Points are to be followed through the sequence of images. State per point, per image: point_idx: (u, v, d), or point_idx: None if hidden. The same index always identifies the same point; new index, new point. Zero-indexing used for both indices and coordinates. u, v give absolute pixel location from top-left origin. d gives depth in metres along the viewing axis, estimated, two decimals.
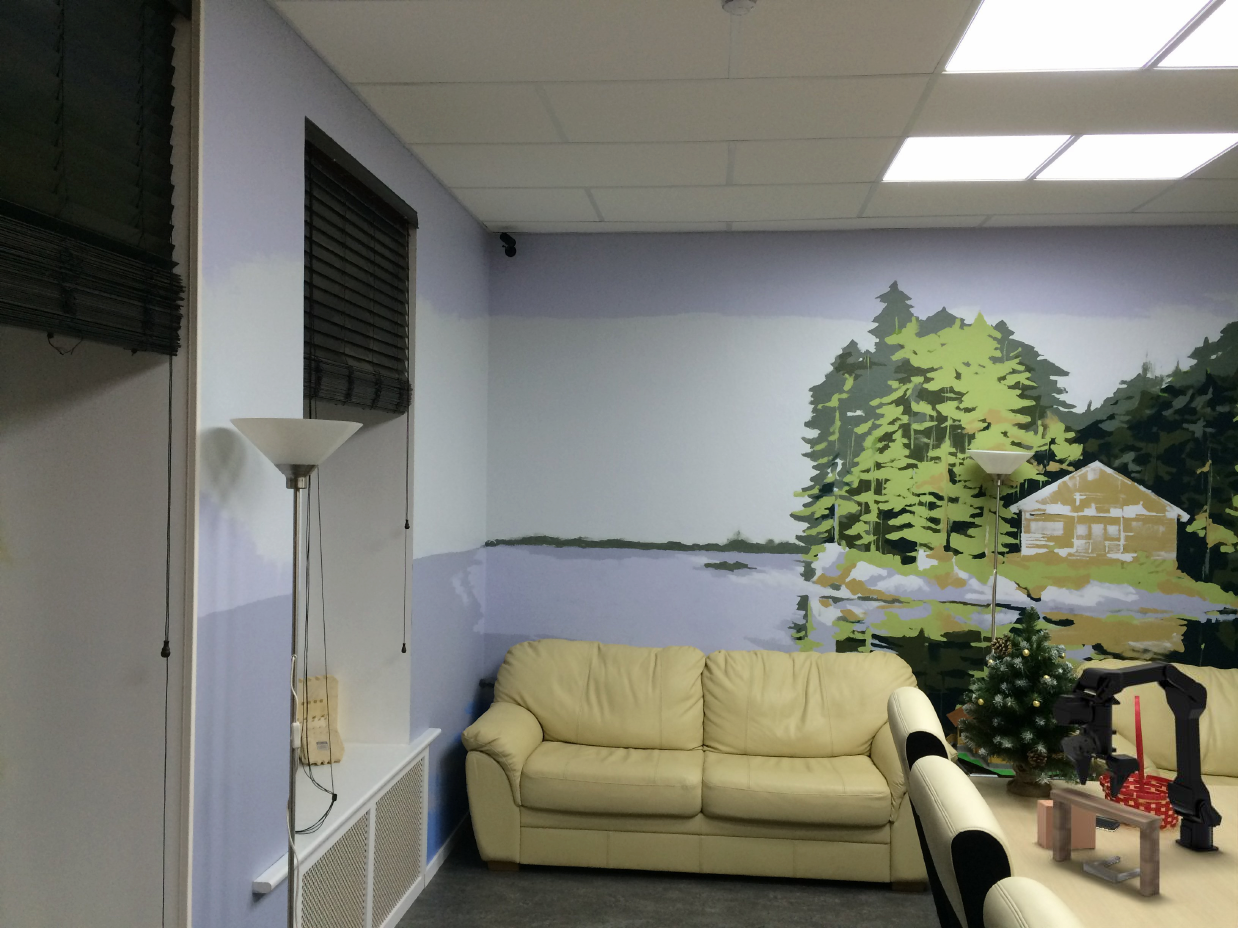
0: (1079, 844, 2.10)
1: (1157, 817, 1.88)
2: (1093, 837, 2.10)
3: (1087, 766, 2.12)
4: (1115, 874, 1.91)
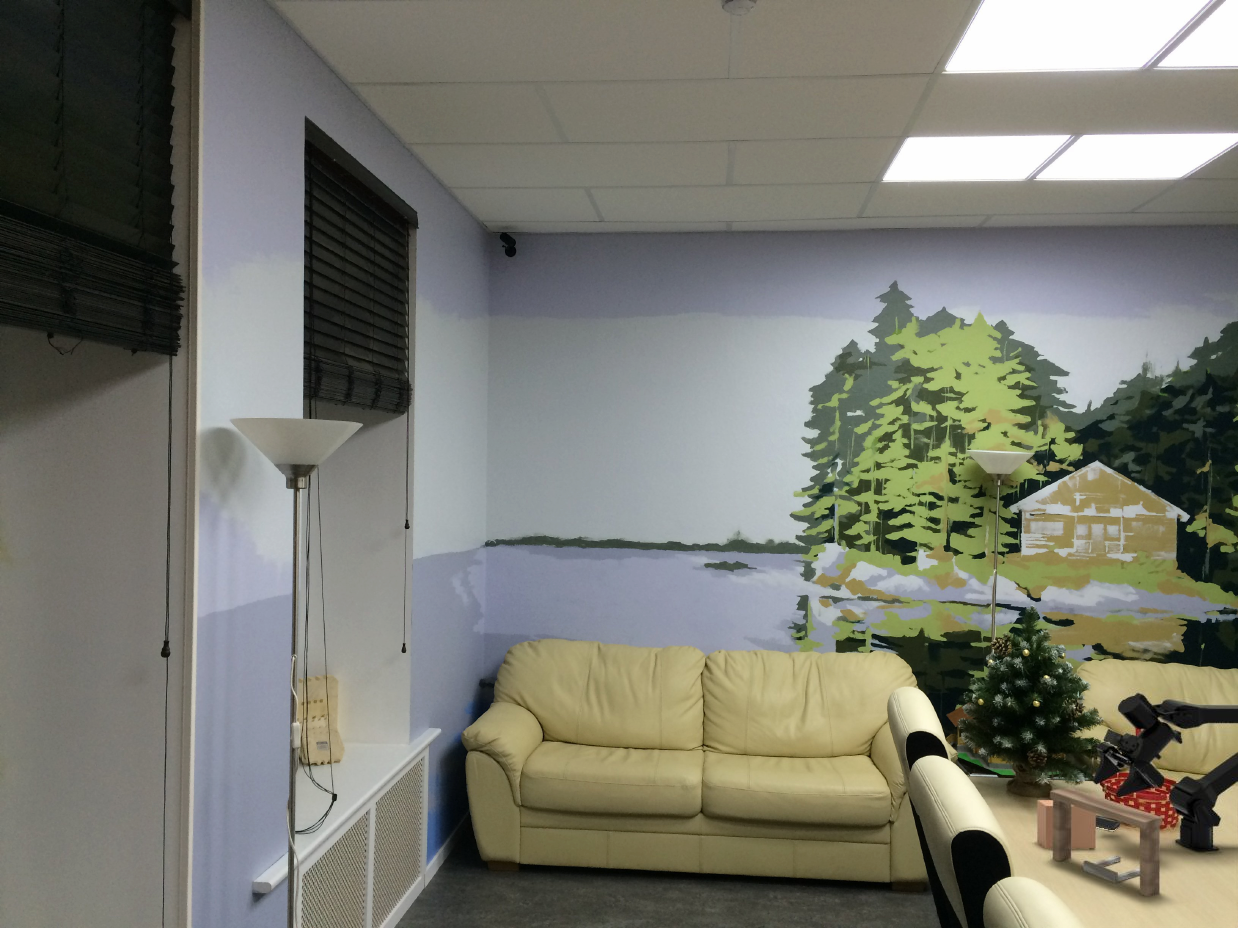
0: (1079, 844, 2.10)
1: (1157, 817, 1.88)
2: (1093, 837, 2.10)
3: (1109, 774, 2.18)
4: (1115, 874, 1.91)
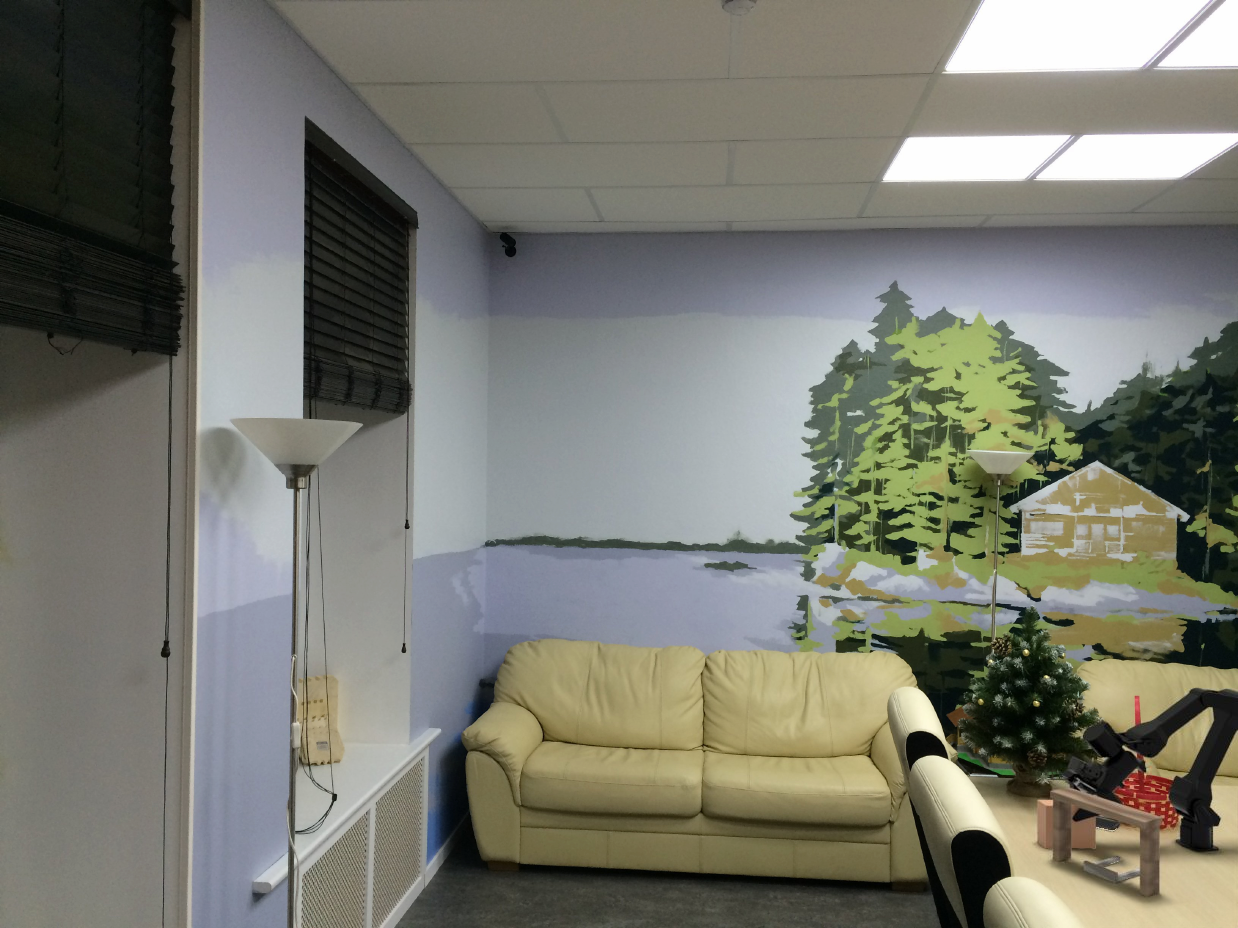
0: (1079, 843, 2.10)
1: (1157, 817, 1.88)
2: (1093, 837, 2.10)
3: None
4: (1115, 874, 1.91)
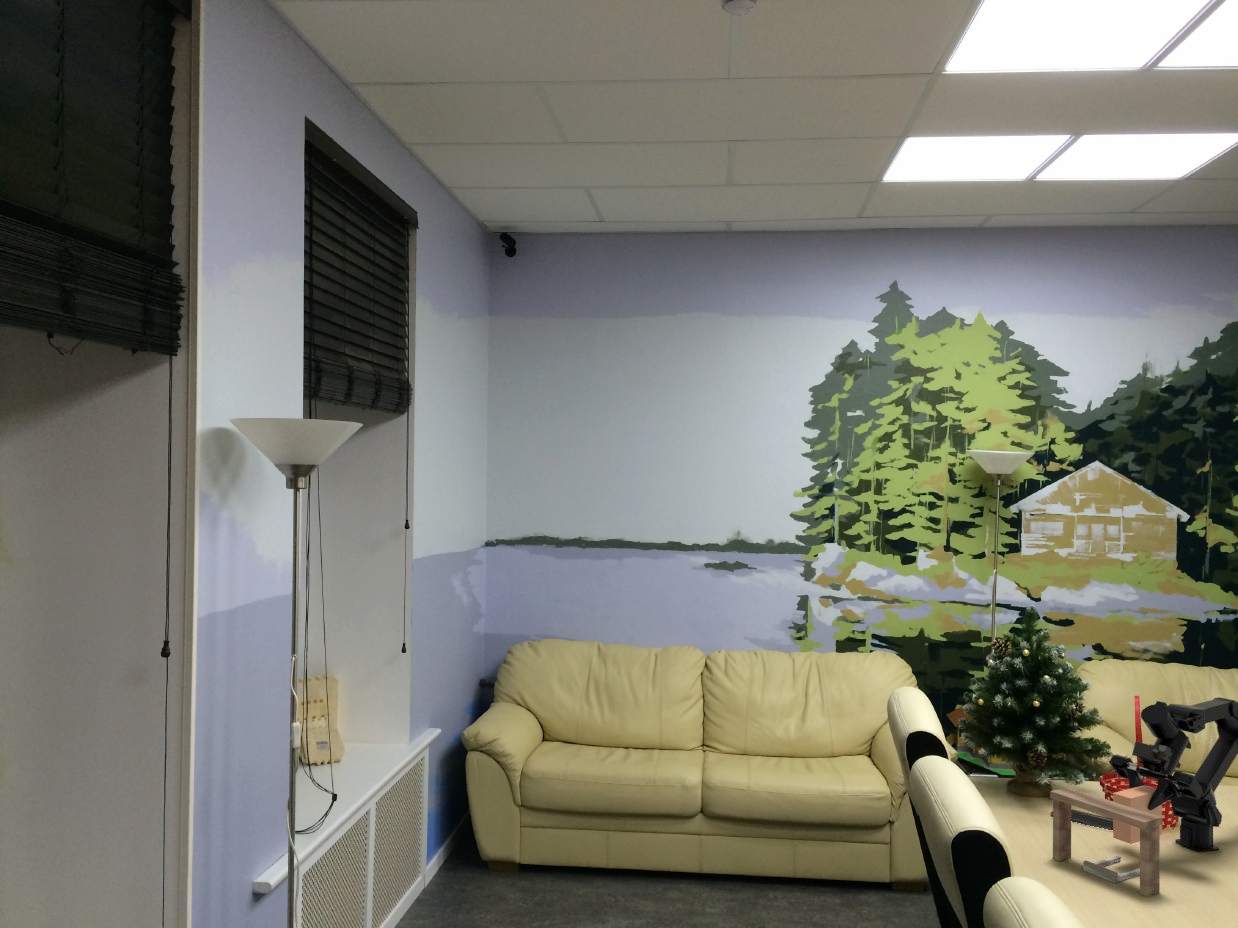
0: None
1: (1157, 817, 1.88)
2: None
3: None
4: (1115, 874, 1.91)
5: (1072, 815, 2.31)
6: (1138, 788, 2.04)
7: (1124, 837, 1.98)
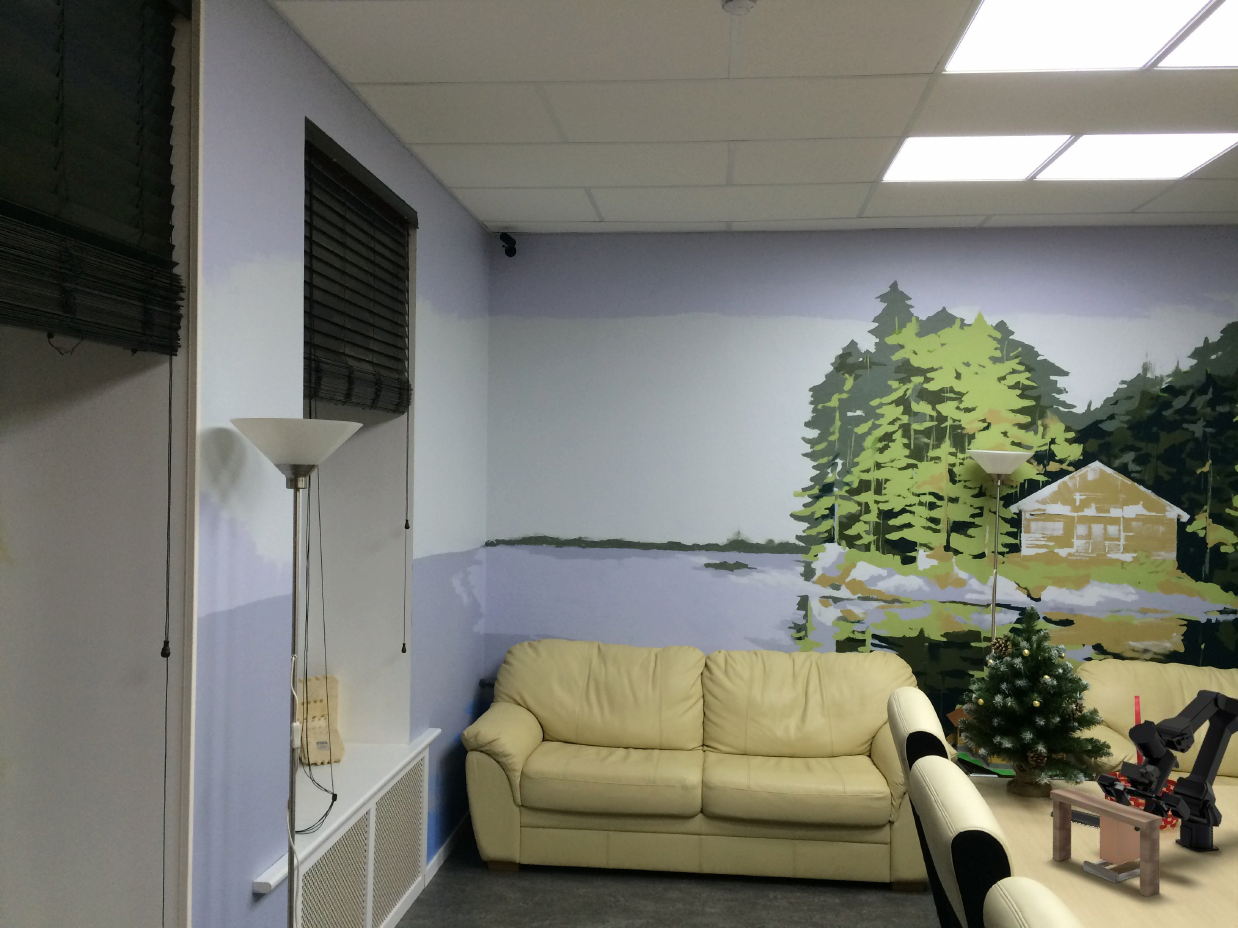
0: (1138, 853, 1.98)
1: (1157, 817, 1.88)
2: None
3: None
4: (1115, 874, 1.91)
5: (1072, 815, 2.30)
6: None
7: (1110, 858, 1.95)
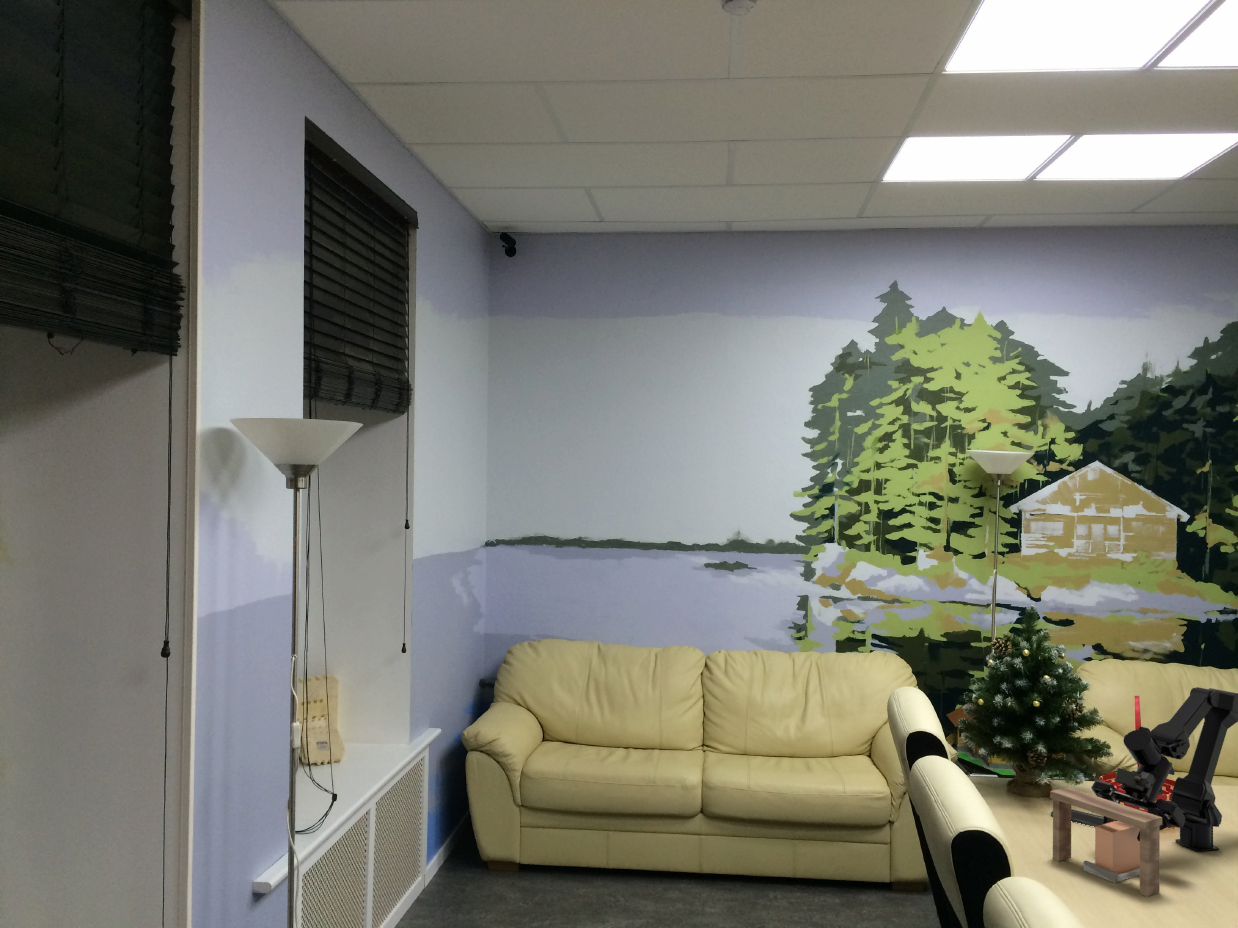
0: (1134, 867, 1.97)
1: (1157, 817, 1.88)
2: None
3: None
4: (1115, 874, 1.91)
5: (1072, 815, 2.30)
6: None
7: None
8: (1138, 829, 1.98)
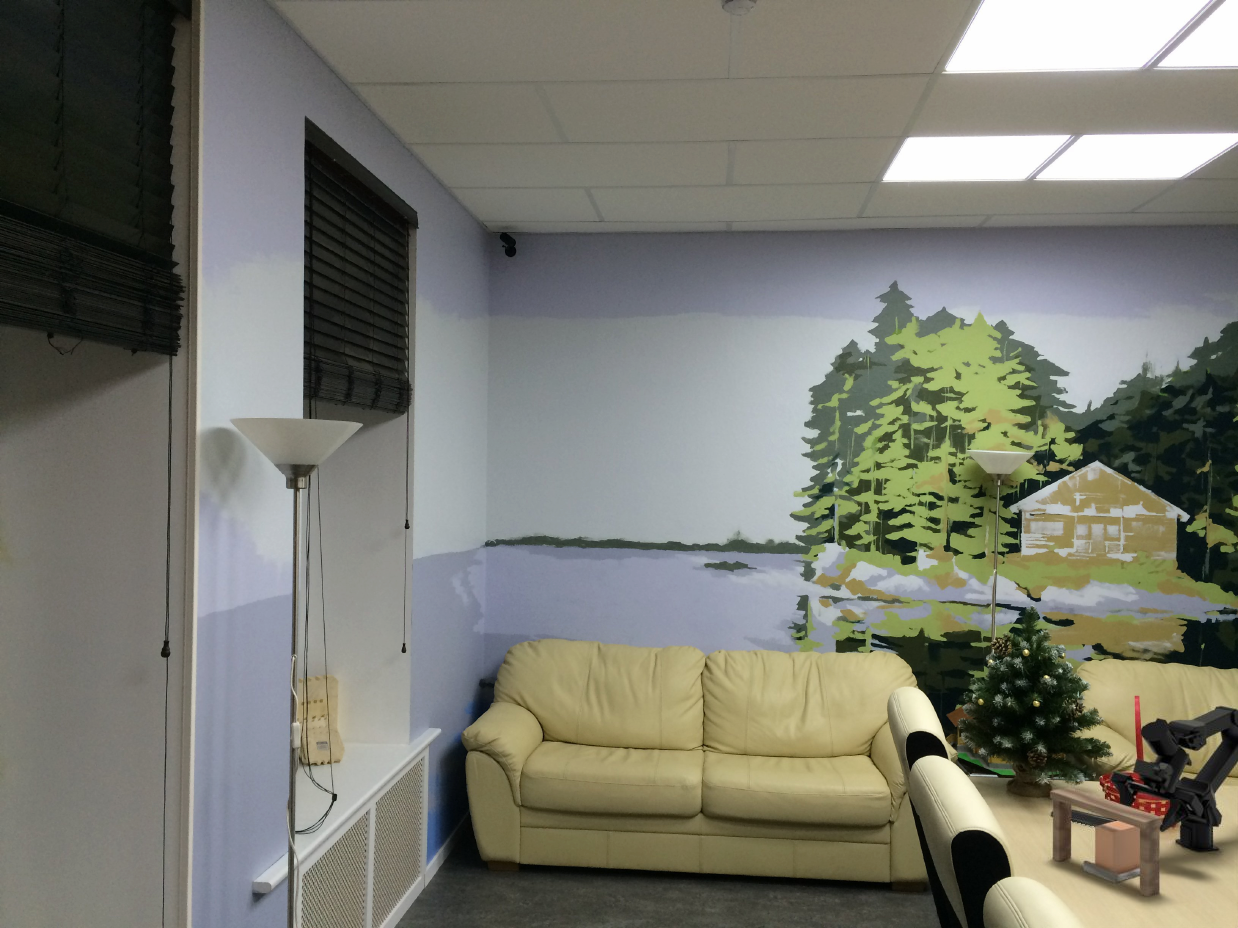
0: (1134, 867, 1.97)
1: (1157, 817, 1.88)
2: None
3: (1129, 805, 2.09)
4: (1115, 874, 1.91)
5: (1072, 815, 2.30)
6: None
7: None
8: (1138, 829, 1.98)
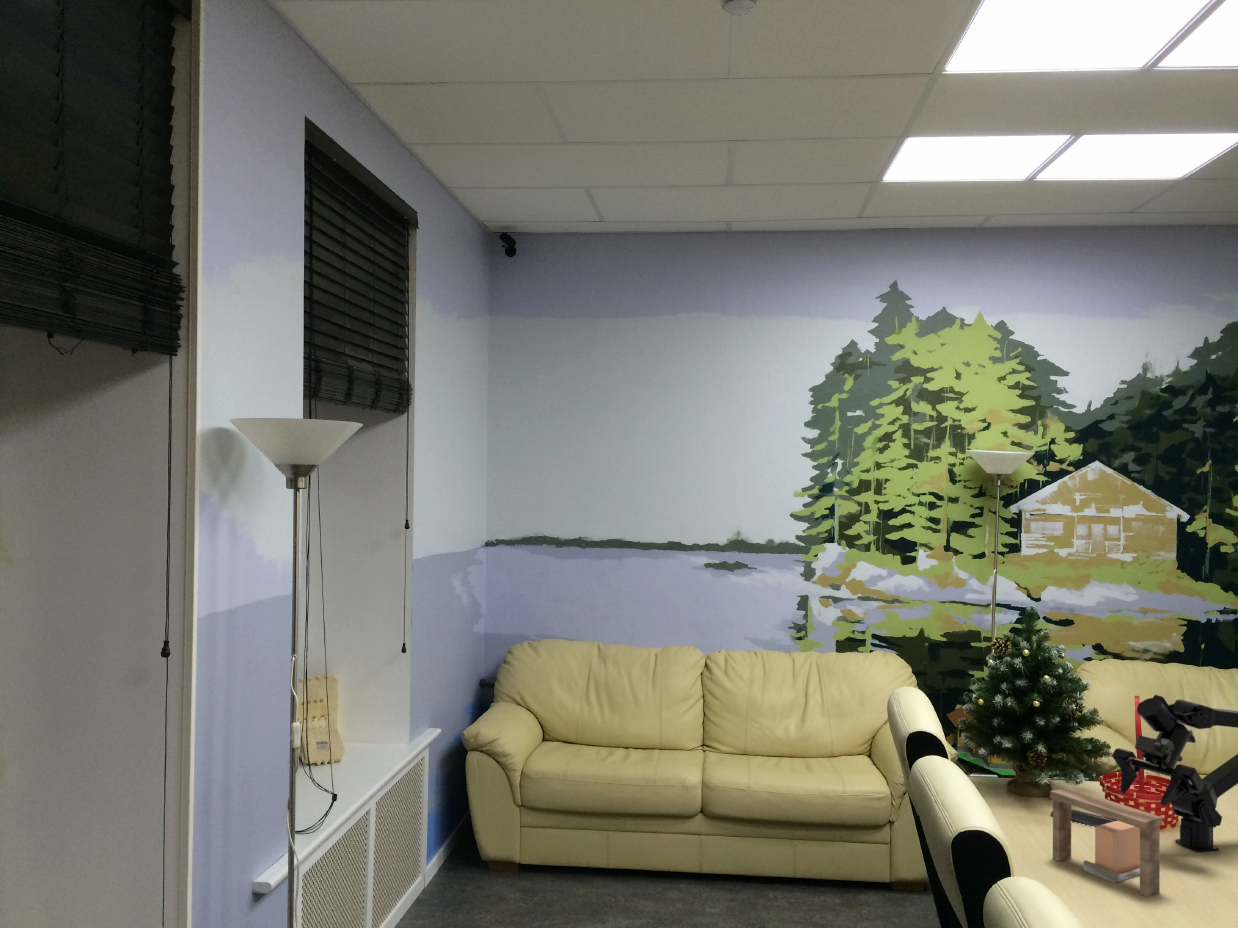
0: (1134, 867, 1.97)
1: (1157, 817, 1.88)
2: None
3: (1130, 781, 2.12)
4: (1115, 874, 1.91)
5: (1072, 815, 2.30)
6: None
7: None
8: (1138, 829, 1.98)
